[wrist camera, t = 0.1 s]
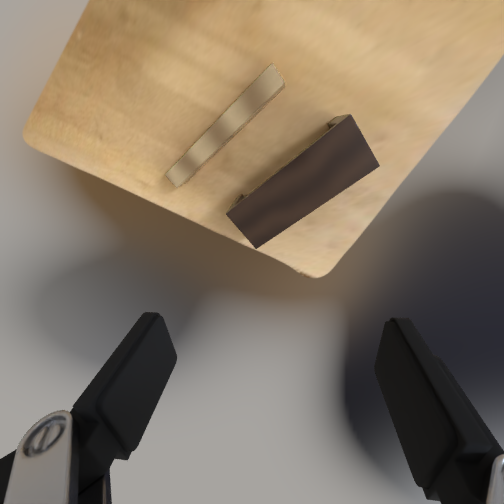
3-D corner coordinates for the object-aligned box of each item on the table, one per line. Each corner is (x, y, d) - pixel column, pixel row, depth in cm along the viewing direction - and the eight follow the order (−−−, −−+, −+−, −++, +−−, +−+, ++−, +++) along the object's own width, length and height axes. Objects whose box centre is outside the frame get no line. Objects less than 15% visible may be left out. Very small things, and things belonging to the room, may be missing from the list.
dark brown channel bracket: (235, 198, 45) (225, 214, 38) (336, 116, 37) (350, 113, 29) (260, 229, 48) (256, 249, 40) (361, 158, 39) (380, 166, 31)
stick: (185, 183, 45) (176, 188, 42) (173, 171, 44) (164, 174, 41) (285, 86, 36) (285, 82, 32) (273, 68, 35) (272, 62, 31)
